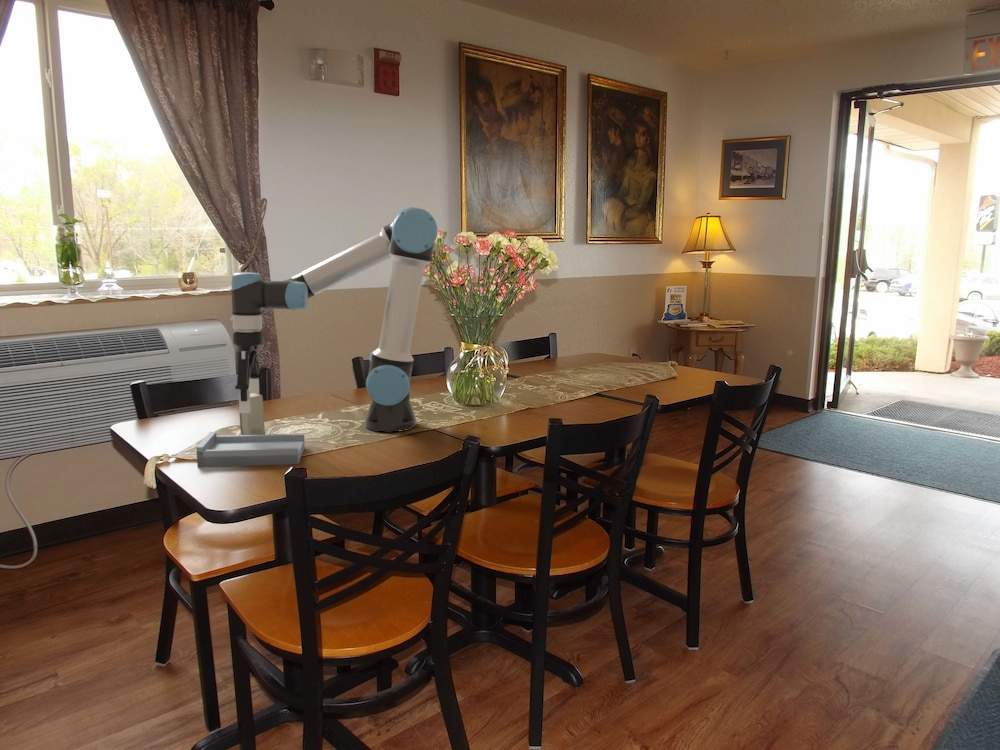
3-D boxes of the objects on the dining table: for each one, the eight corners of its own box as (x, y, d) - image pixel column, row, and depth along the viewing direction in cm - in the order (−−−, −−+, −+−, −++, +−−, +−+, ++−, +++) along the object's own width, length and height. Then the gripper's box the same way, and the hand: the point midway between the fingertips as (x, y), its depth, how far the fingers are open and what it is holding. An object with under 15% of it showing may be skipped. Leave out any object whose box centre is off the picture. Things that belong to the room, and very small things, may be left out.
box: (256, 436, 202) (254, 392, 200) (265, 439, 200) (263, 394, 197) (239, 440, 198) (237, 395, 196) (248, 443, 196) (246, 397, 193)
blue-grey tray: (304, 448, 193) (304, 430, 192) (298, 464, 179) (297, 444, 178) (211, 450, 189) (210, 432, 188) (197, 467, 175) (196, 447, 174)
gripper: (242, 324, 205) (244, 396, 209) (222, 336, 181) (225, 417, 184) (269, 324, 206) (271, 396, 210) (253, 336, 182) (255, 417, 186)
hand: (249, 406), depth 197 cm, fingers open, 13 cm apart
